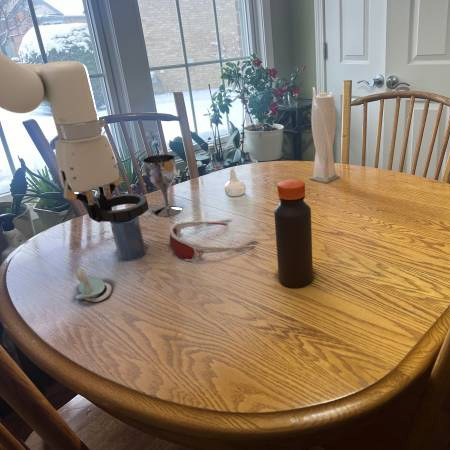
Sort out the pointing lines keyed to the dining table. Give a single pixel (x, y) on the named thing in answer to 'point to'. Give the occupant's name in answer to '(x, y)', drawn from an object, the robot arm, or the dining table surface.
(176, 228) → the sunglasses
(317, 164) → the skyscraper
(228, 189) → the garlic bulb
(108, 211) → the ring
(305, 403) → the dining table surface
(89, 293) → the pacifier
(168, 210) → the wine glass
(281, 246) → the bottle
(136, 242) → the cup
